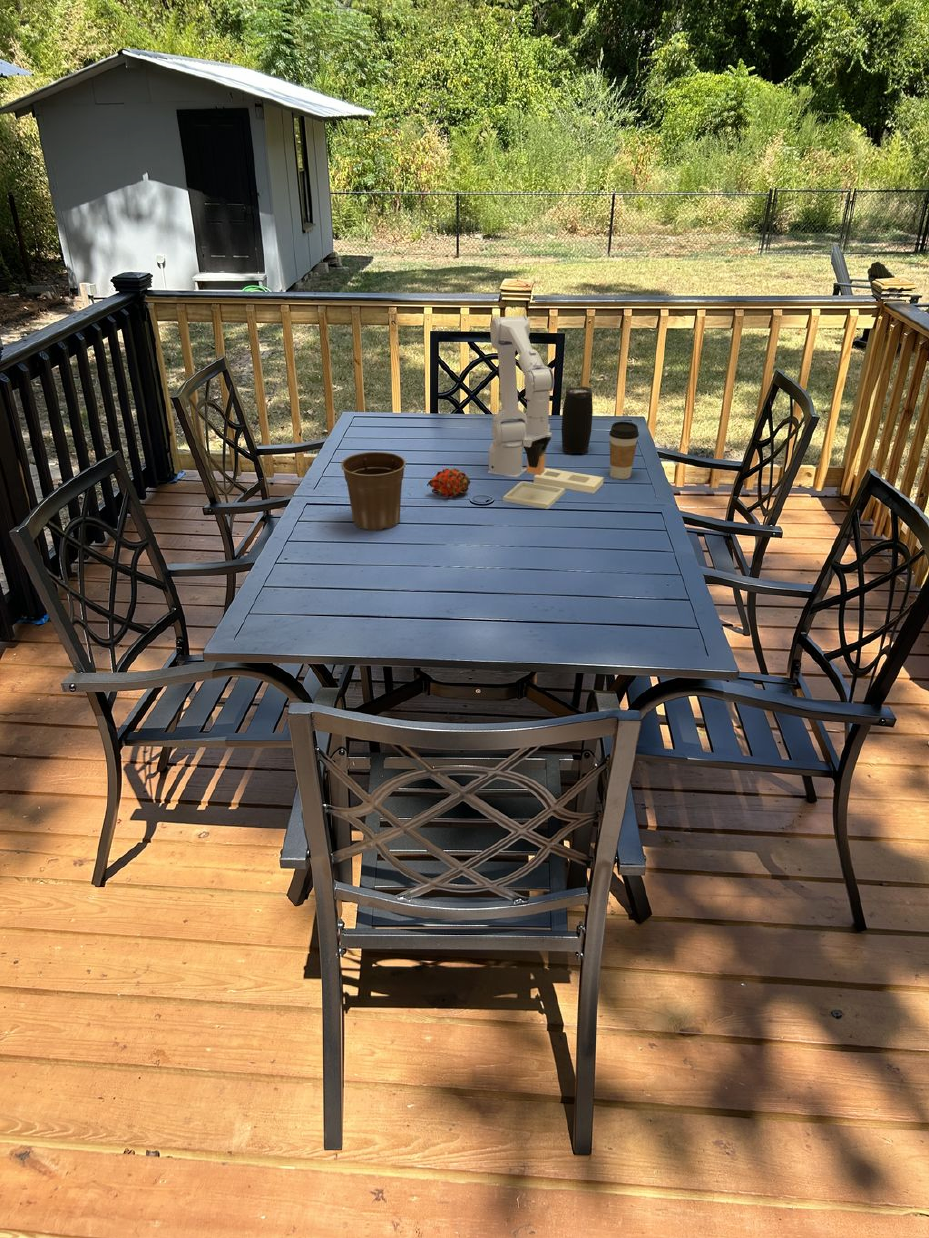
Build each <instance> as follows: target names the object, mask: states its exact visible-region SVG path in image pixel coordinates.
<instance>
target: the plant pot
mask: <svg viewBox="0 0 929 1238" xmlns="http://www.w3.org/2000/svg"><path fill="white" fill-rule="evenodd" d="M406 465H407V461H406V460H405V458H403V457H402V456H400V455H399V454H396V453H391V452H383V451H368V452H361V453H360V452H359V453H356V454H352V455H350V456H347V457H346V458H344V459H343V460H342V461H341V464H340V467H341V469H342V471H343V475H344V479H345V482H346V484H347V485H346V486H347V491H348V497H349V501H350V509H351V514H352V515H351V516H352V522H353V524H354V525H355V527H356V528H360V529H362V530H366V531H382V529H391V528H393V527H395V526H397V525H398V524H399V523H400V520H401V503H402V502H401V501H402V485H403V483H402V482H403V479H404V473H405V472H404V471H405V468H406Z"/></svg>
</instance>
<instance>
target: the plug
mask: <svg viewBox="0 0 929 1238" xmlns="http://www.w3.org/2000/svg"><path fill="white" fill-rule="evenodd" d="M546 450H547V449H546ZM546 450H541V452H540V456H539V462H538V466H537V467H536V468H534V467H529V463H528V459H526V468H527V470H526V473H527V474H530V475H536V474H537V475H541V474H542V473H543V472H545V468H546V452H547V451H546Z"/></svg>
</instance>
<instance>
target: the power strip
mask: <svg viewBox="0 0 929 1238" xmlns="http://www.w3.org/2000/svg"><path fill="white" fill-rule="evenodd" d="M533 483H536V484H542V485H548V486H553V487H559V488H565V490H571V491H577V492H582V493H583V492H584V493H588V494H595V493H596V492H597V491H598V490H599V489H600V488H601V487H602V486H603V484H604V477H603V476H597V475H592V474H591V475H590V474H584V473H578V472H572V471H567V470H561V469H554V468H548V467H545V472H543V473H542V474H541V475H537V474H534V476H533Z"/></svg>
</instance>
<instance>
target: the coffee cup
mask: <svg viewBox="0 0 929 1238" xmlns="http://www.w3.org/2000/svg"><path fill="white" fill-rule="evenodd" d="M608 435H609V436H610V440H609V476H610V477H611V478H612V479H613V478H614V479H616V480H627V479H630V477H631V474H632V469H633V465H634V459H635V455H636V449H637V444H638V442H637V441H638V438H639V436H640V433H639V427H638V426H637V425H636V424H635V423H633V422H631V421H624V420H623V421H617V422H614V423H612V424H611V429H610V431H609V433H608Z"/></svg>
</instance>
